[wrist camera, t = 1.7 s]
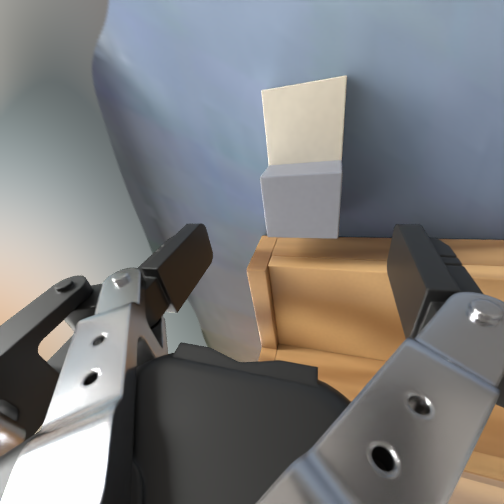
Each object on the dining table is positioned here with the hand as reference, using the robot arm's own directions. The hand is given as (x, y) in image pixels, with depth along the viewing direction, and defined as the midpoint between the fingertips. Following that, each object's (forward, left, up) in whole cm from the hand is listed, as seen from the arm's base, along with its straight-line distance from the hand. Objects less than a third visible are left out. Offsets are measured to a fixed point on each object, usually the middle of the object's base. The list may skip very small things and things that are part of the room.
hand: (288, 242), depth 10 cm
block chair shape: (-2, 0, -8) cm, 8 cm away
